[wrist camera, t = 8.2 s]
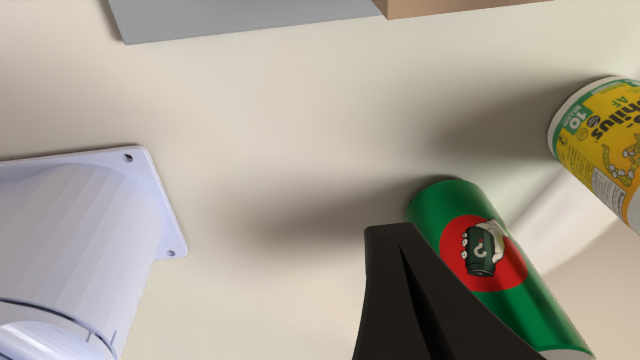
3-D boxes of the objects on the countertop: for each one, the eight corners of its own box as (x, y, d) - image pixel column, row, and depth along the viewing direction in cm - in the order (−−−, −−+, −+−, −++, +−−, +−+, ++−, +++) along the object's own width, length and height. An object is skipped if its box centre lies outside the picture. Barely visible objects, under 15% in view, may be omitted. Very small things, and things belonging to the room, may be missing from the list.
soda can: (385, 214, 25) (453, 422, 15) (447, 159, 22) (572, 359, 13) (437, 247, 27) (526, 447, 17) (498, 199, 25) (640, 397, 15)
